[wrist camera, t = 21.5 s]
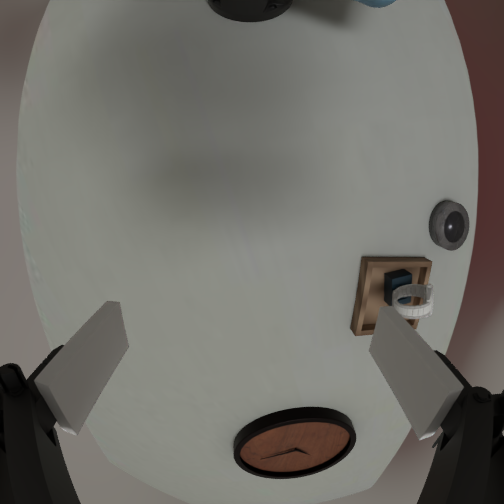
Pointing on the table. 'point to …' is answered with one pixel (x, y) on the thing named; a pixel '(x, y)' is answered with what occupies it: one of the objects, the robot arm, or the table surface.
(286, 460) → the wall clock
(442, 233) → the round socket
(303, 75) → the table surface
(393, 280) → the watch
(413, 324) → the rect wooden tray
